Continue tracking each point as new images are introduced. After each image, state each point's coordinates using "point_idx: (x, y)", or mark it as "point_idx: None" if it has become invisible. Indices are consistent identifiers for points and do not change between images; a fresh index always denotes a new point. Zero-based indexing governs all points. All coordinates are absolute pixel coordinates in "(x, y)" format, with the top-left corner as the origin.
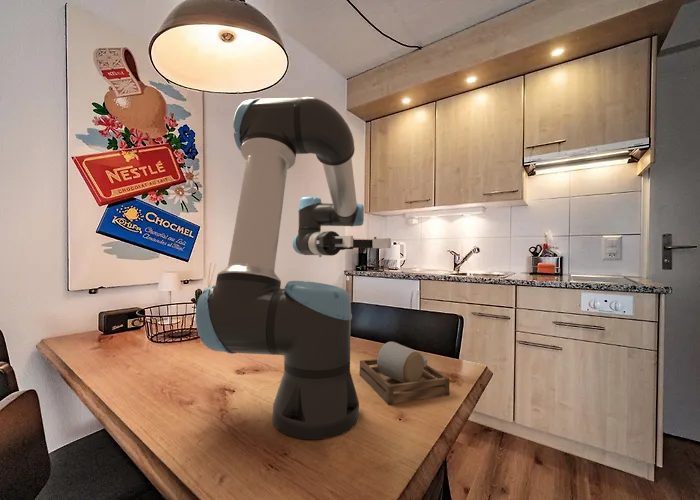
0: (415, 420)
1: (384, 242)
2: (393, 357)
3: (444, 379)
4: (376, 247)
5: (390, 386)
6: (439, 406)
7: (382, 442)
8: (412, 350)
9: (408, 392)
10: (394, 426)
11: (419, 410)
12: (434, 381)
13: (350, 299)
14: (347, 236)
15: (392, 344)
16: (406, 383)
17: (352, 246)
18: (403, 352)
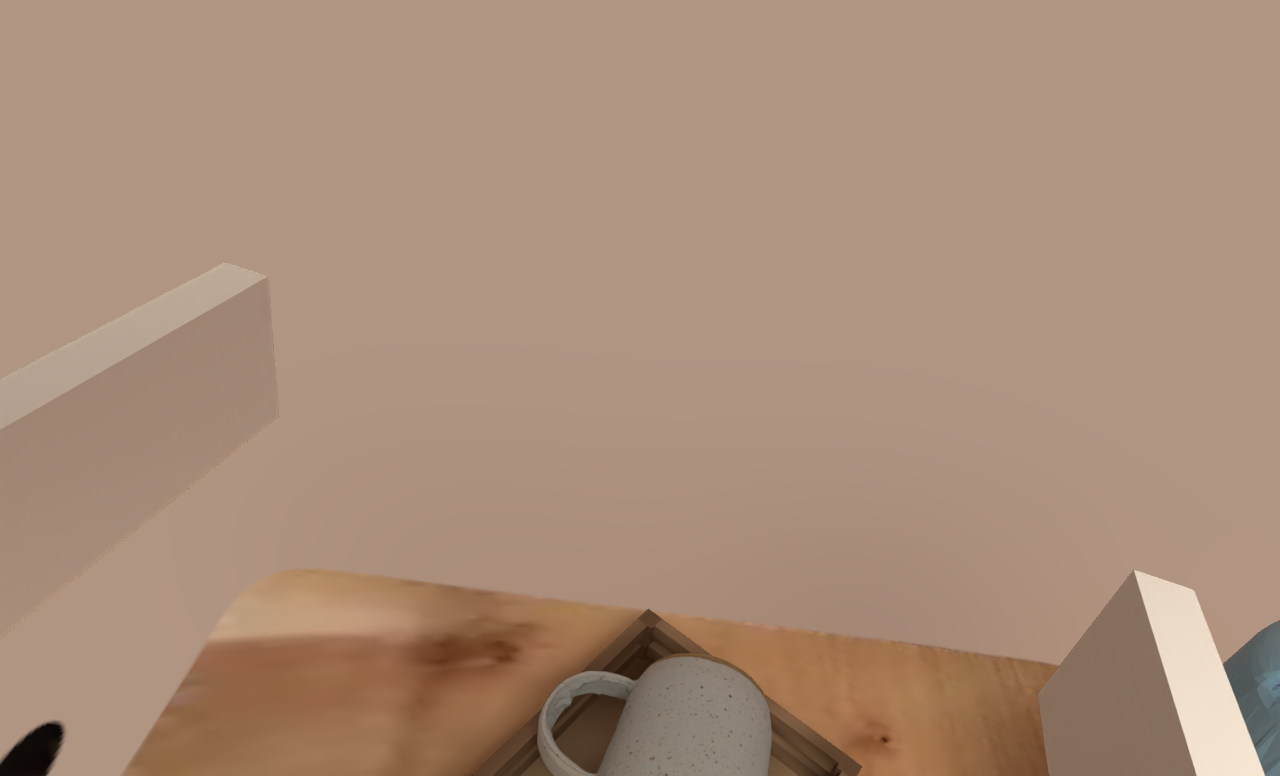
0: (856, 700)
1: (193, 391)
2: (764, 754)
3: (665, 621)
4: (15, 614)
5: (854, 762)
6: (732, 660)
7: (1007, 744)
8: (712, 668)
9: (774, 734)
10: (927, 741)
11: (797, 704)
12: (698, 648)
13: (1261, 630)
14: (1216, 680)
15: (714, 760)
16: (790, 720)
17: (1049, 697)
18: (746, 700)
